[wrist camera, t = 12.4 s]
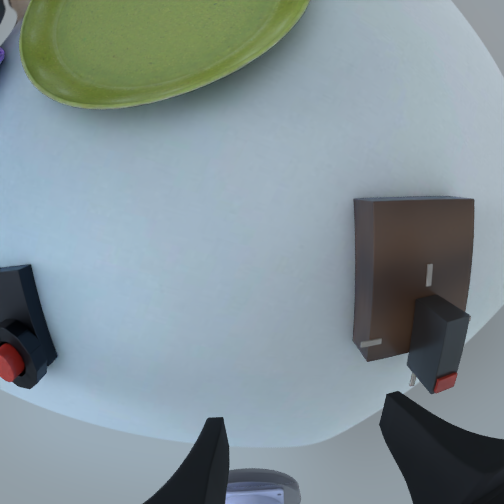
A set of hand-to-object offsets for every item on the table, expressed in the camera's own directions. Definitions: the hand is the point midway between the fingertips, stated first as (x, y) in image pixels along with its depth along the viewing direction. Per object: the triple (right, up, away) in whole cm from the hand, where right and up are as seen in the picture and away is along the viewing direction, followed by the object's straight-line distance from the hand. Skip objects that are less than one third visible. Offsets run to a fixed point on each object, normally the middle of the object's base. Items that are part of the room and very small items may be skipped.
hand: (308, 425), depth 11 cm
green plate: (-9, +26, +3) cm, 27 cm away
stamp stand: (+8, +5, +8) cm, 13 cm away
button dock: (-26, +2, +8) cm, 27 cm away
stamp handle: (+9, +2, +6) cm, 11 cm away
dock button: (-21, -1, +5) cm, 22 cm away
